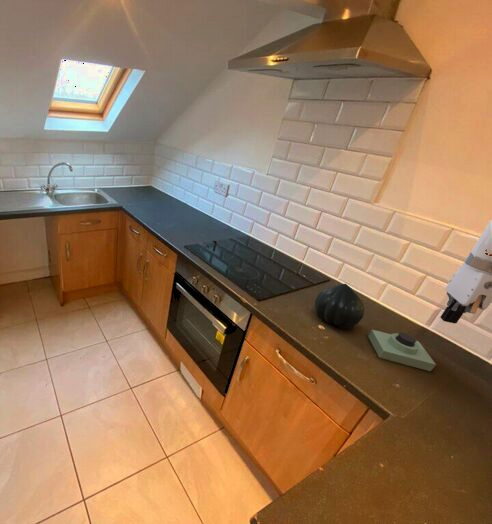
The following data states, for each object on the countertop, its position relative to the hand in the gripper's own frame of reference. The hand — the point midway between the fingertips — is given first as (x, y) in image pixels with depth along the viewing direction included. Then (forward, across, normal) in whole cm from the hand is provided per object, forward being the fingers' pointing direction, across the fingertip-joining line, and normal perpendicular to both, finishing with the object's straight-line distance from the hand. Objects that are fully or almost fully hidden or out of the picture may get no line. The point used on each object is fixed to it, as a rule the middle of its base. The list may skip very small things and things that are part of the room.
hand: (447, 320), depth 86 cm
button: (+13, +4, +4) cm, 14 cm away
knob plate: (+17, +4, +4) cm, 18 cm away
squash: (+17, +14, +22) cm, 31 cm away
